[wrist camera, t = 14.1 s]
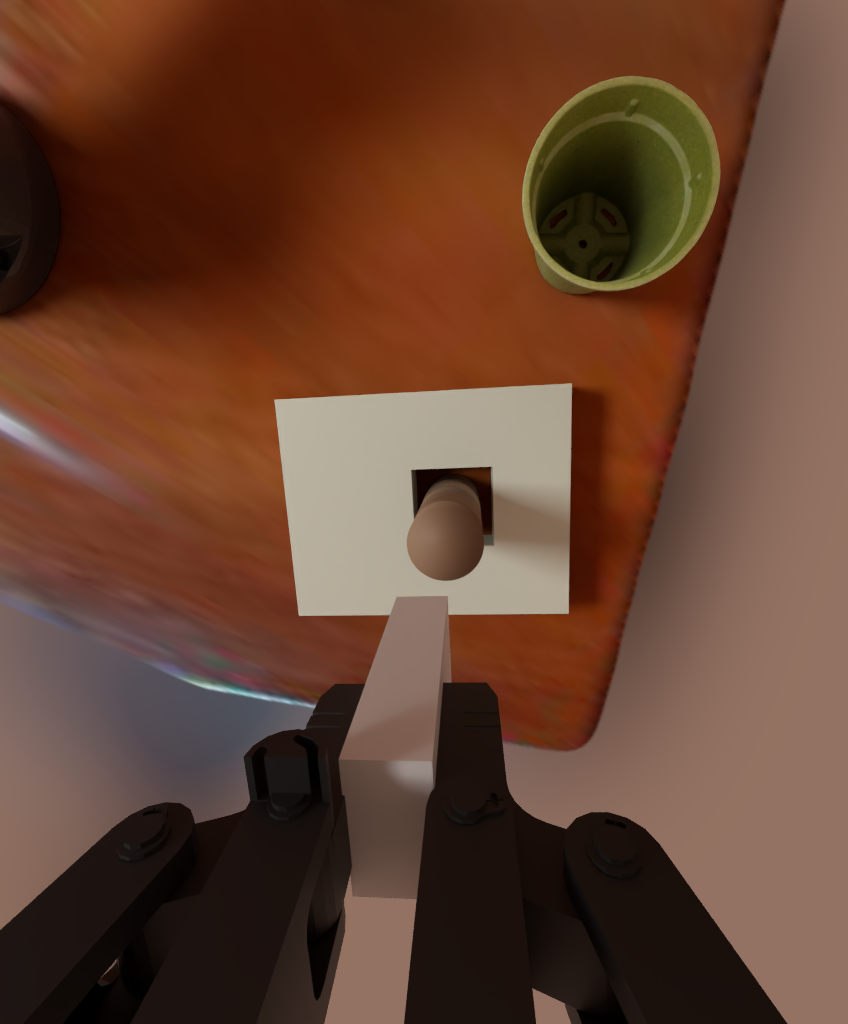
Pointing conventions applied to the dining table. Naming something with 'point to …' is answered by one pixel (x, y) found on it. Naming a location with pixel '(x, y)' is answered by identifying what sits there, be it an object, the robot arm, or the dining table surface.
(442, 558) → the peg
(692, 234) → the plant pot
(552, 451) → the board
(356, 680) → the dining table surface
